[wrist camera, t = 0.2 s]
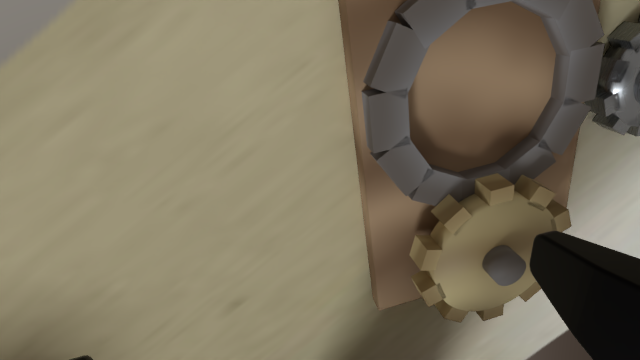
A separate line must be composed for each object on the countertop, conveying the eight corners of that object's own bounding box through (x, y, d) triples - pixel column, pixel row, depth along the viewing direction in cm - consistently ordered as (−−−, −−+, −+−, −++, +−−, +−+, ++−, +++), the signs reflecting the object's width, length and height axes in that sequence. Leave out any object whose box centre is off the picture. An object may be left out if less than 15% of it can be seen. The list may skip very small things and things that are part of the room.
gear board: (544, 255, 31) (598, 301, 27) (374, 307, 29) (403, 365, 25) (591, -65, 21) (688, -74, 17) (336, -20, 19) (373, -17, 15)
